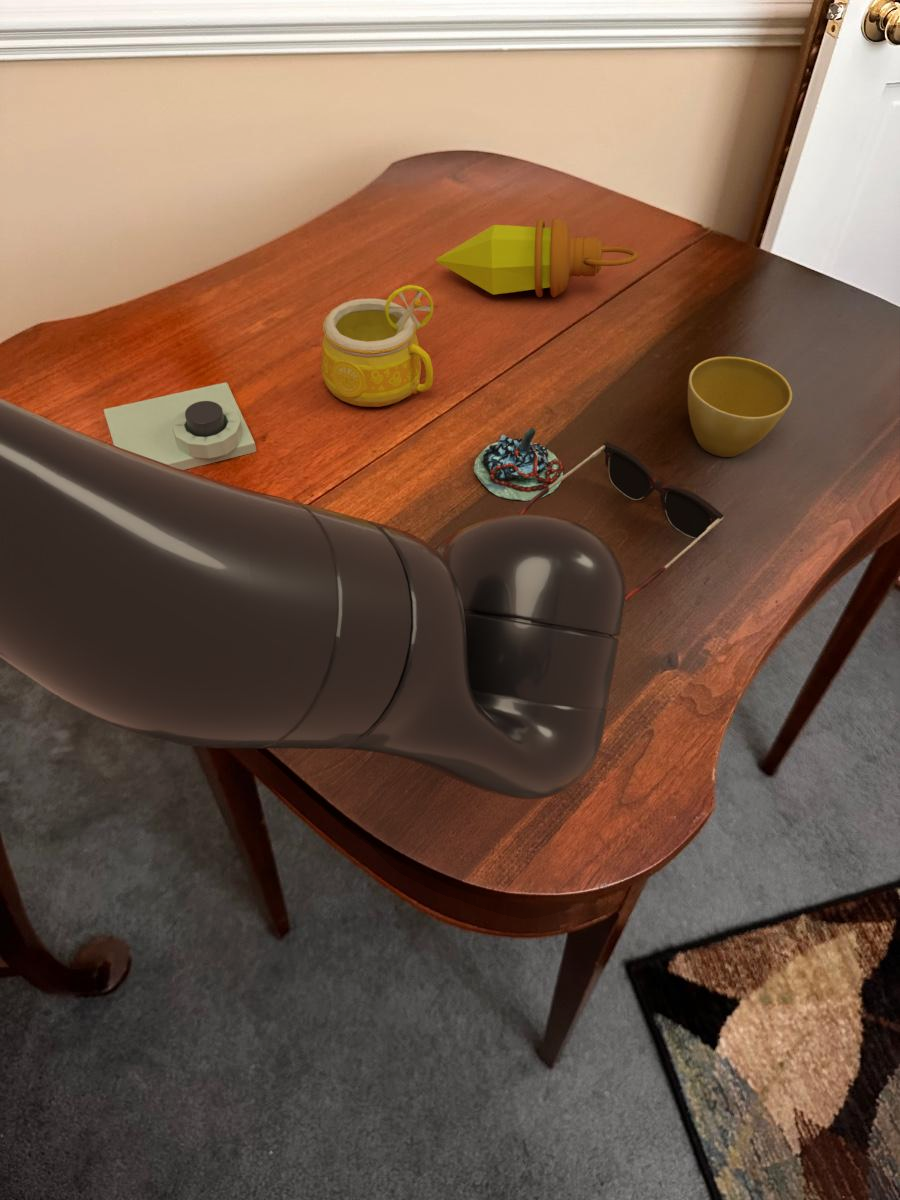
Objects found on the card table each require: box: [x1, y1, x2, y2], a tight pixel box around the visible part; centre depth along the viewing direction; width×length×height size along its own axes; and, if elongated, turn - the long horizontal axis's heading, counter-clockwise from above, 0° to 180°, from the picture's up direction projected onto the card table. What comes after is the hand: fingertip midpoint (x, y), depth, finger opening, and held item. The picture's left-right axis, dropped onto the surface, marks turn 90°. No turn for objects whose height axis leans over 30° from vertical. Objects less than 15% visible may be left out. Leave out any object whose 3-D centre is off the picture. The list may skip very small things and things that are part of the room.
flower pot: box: [687, 356, 793, 458], centre depth 89 cm, size 10×10×7 cm
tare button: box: [185, 401, 225, 437], centre depth 86 cm, size 4×4×2 cm
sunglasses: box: [518, 441, 725, 603], centre depth 79 cm, size 14×16×5 cm
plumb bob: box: [434, 216, 639, 298], centre depth 107 cm, size 9×9×25 cm
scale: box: [102, 381, 257, 471], centre depth 88 cm, size 13×12×3 cm
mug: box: [321, 284, 435, 408], centre depth 91 cm, size 13×11×12 cm
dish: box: [473, 427, 564, 502], centre depth 87 cm, size 8×7×8 cm
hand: (344, 610), depth 65 cm, fingers closed on pill bottle, 4 cm apart
